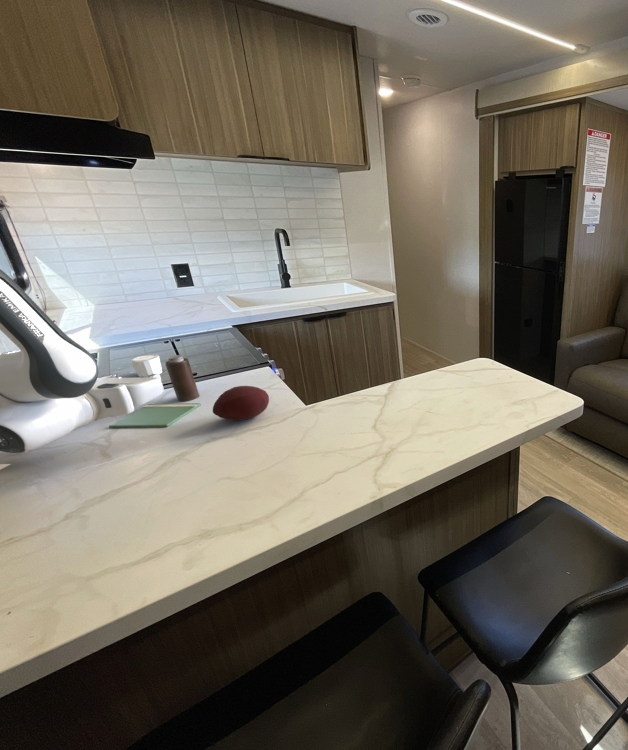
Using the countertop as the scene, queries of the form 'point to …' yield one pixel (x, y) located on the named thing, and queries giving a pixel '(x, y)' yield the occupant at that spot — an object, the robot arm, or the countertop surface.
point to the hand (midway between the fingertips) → (138, 376)
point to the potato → (241, 403)
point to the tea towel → (156, 415)
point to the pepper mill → (182, 378)
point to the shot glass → (147, 365)
